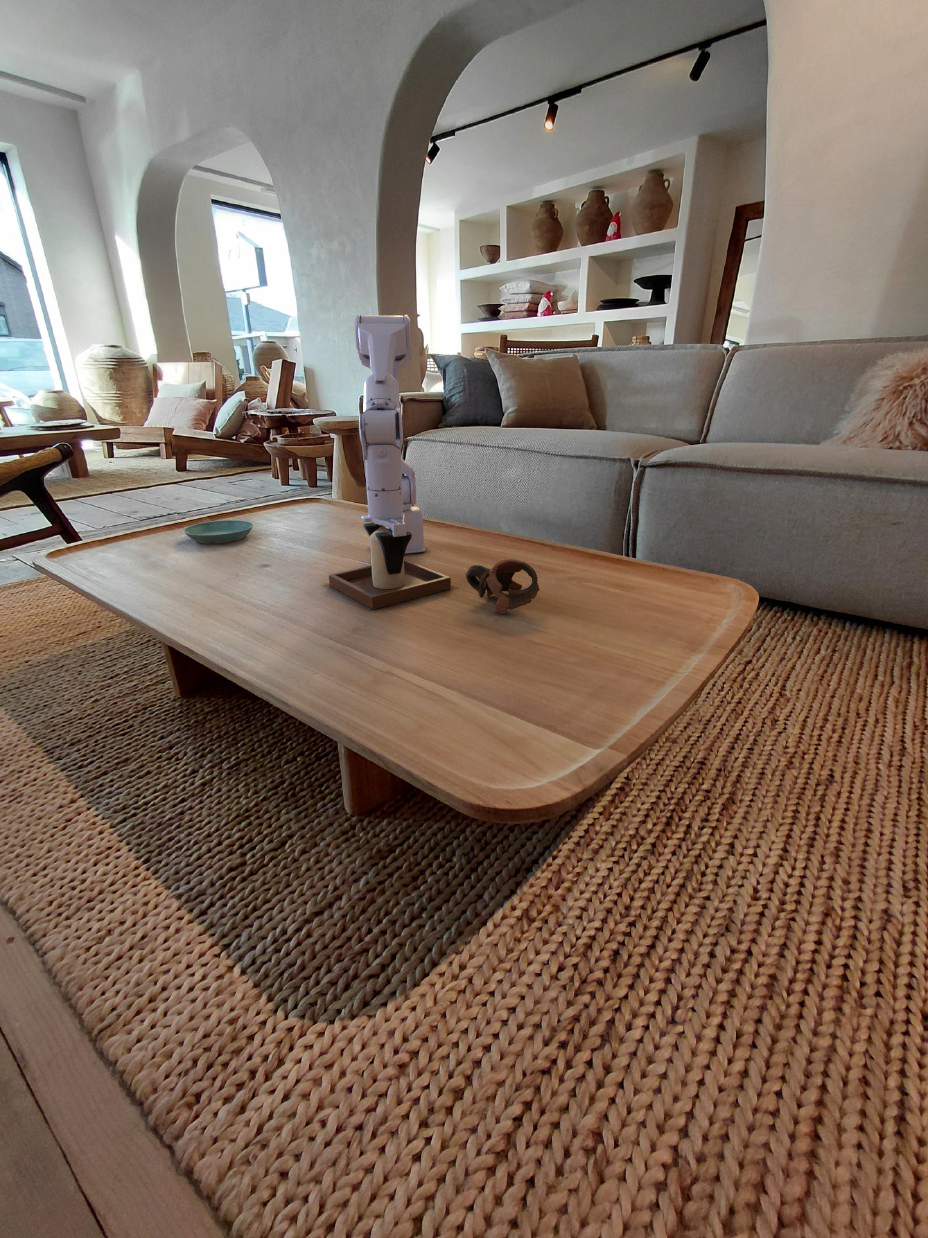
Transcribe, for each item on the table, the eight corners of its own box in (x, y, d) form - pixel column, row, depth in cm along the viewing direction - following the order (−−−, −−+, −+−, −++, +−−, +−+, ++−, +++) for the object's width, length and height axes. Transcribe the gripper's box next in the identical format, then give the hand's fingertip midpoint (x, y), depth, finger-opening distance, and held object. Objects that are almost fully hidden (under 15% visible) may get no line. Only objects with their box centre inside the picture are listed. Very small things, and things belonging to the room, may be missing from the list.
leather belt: (536, 596, 97) (548, 563, 91) (523, 638, 91) (535, 606, 85) (468, 574, 98) (476, 540, 92) (452, 615, 92) (458, 581, 86)
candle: (373, 579, 102) (370, 524, 98) (405, 578, 103) (402, 523, 99) (371, 590, 97) (367, 531, 93) (404, 589, 97) (402, 531, 94)
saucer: (268, 533, 135) (266, 521, 134) (226, 549, 122) (224, 537, 121) (216, 528, 140) (214, 517, 139) (170, 543, 127) (167, 532, 126)
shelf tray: (403, 568, 110) (403, 558, 109) (451, 588, 99) (450, 577, 99) (329, 586, 101) (328, 574, 100) (372, 609, 90) (371, 597, 90)
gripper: (349, 483, 98) (355, 559, 103) (373, 497, 86) (378, 583, 91) (389, 480, 101) (392, 555, 106) (417, 494, 89) (420, 578, 94)
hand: (388, 568), depth 99 cm, fingers closed on candle, 5 cm apart
